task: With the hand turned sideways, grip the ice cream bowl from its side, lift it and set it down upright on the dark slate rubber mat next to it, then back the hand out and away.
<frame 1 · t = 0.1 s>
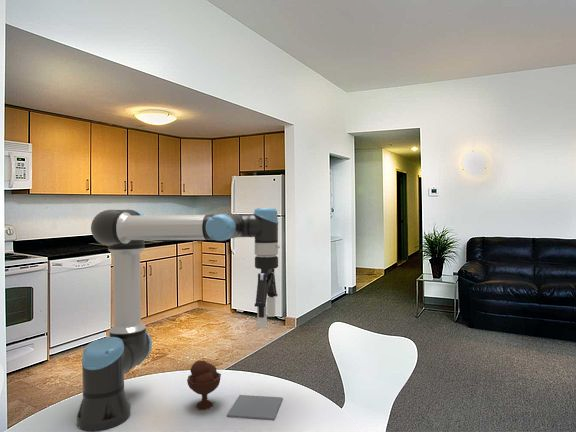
hand: (266, 321, 130), 28 cm above the table, tool pointing down, fingers open, 13 cm apart
slate mat: (255, 407, 130), on the table
ice cream bowl: (204, 406, 132), on the table
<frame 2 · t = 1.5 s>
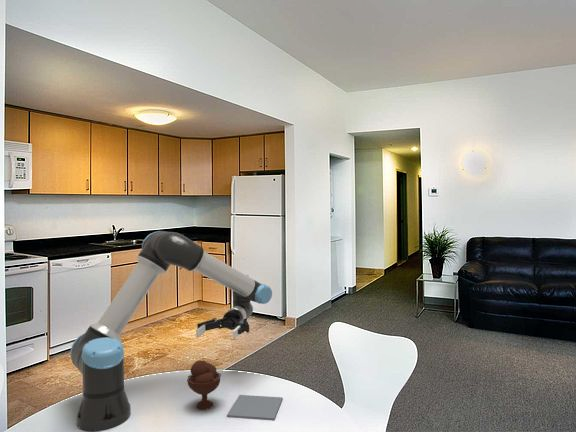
hand: (215, 334, 142), 20 cm above the table, tool horizontal, fingers open, 13 cm apart
nothing on the table moved.
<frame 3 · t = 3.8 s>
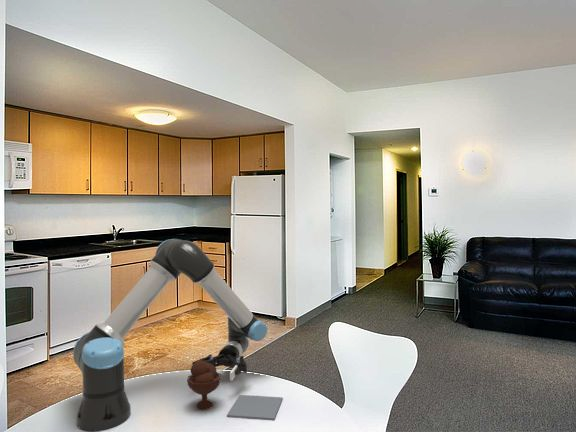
hand: (211, 375, 137), 8 cm above the table, tool horizontal, fingers open, 13 cm apart
nothing on the table moved.
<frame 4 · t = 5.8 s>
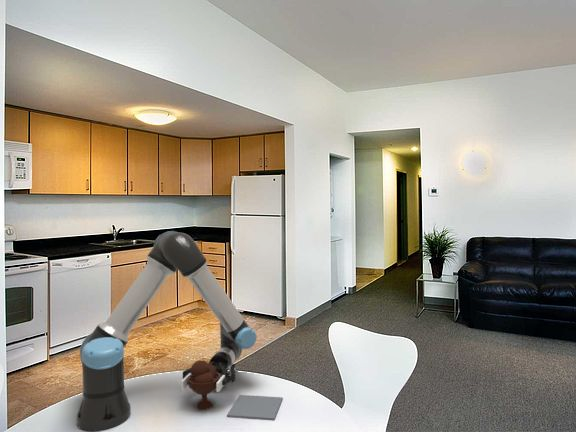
hand: (199, 386, 128), 8 cm above the table, tool horizontal, fingers closed on ice cream bowl, 11 cm apart
ice cream bowl: (204, 406, 132), on the table, touching gripper
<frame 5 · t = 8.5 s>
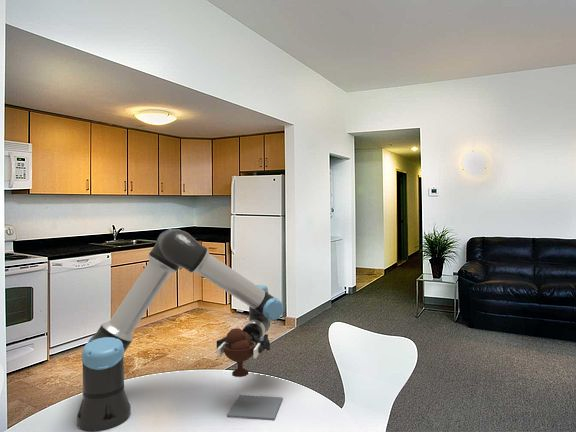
hand: (236, 353, 128), 19 cm above the table, tool horizontal, fingers closed on ice cream bowl, 11 cm apart
ice cream bowl: (240, 374, 132), point 10 cm above the table, touching gripper
when the fingers open (10 cm above the table, at t = 11.1 s): ice cream bowl drops 1 cm, resting on slate mat.
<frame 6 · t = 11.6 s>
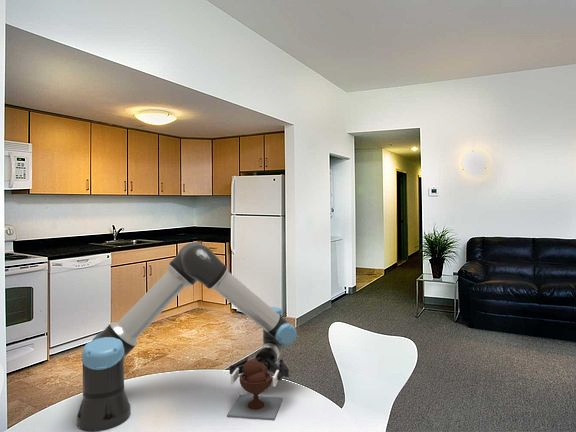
hand: (252, 381, 127), 10 cm above the table, tool horizontal, fingers open, 13 cm apart
ice cream bowl: (255, 406, 130), resting on slate mat
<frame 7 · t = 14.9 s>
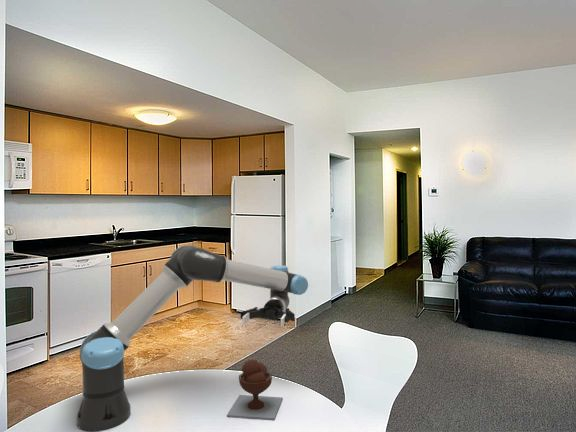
hand: (262, 321, 140), 25 cm above the table, tool horizontal, fingers open, 13 cm apart
nothing on the table moved.
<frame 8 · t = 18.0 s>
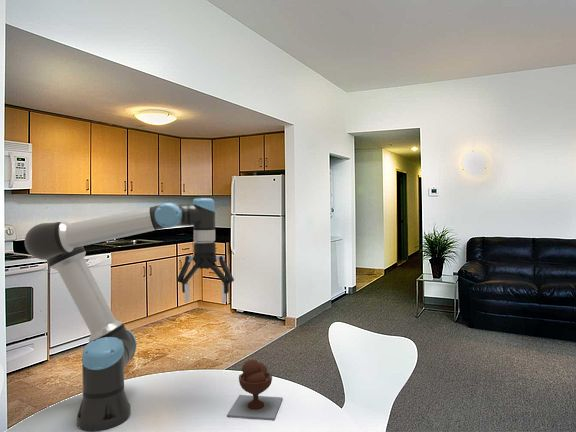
hand: (205, 302, 142), 32 cm above the table, tool pointing down, fingers open, 13 cm apart
nothing on the table moved.
at the end: ice cream bowl 0.1 cm off-centre on the slate mat, point 0.4 cm above the slate mat's base; ice cream bowl tilted 0°; the gripper is holding nothing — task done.
